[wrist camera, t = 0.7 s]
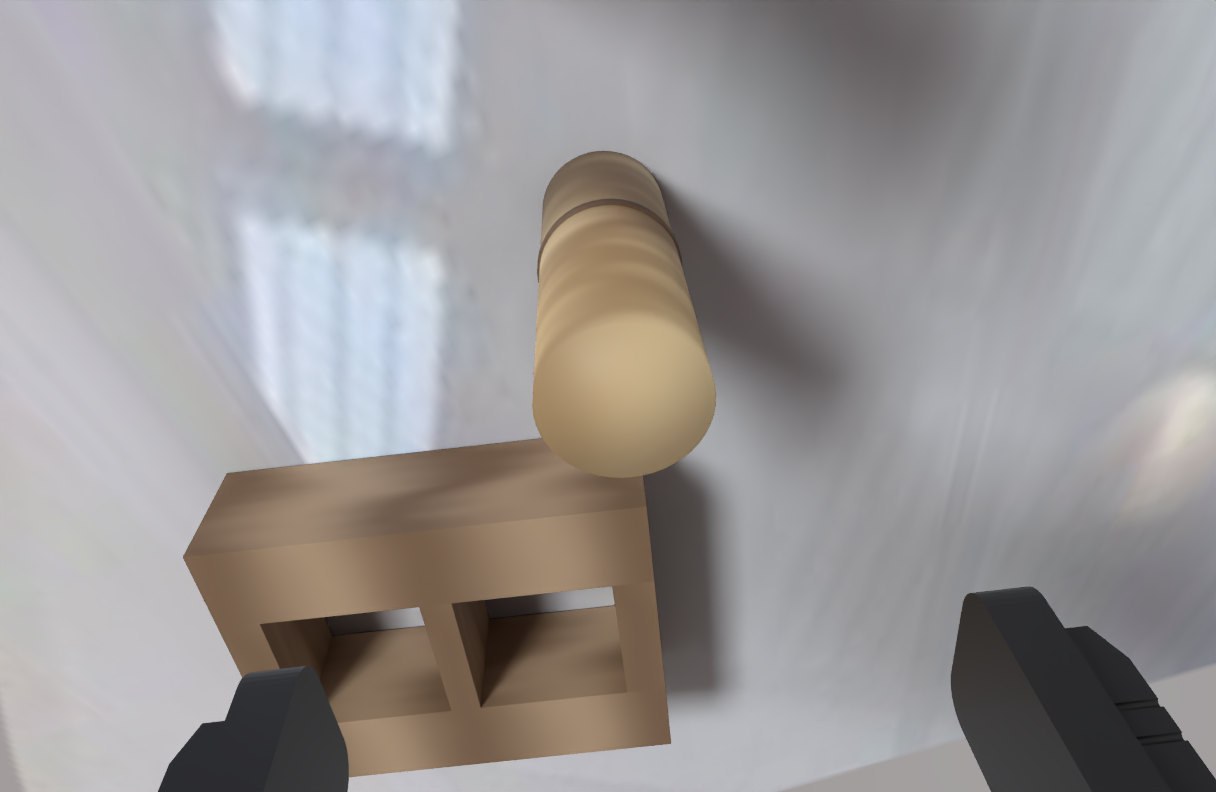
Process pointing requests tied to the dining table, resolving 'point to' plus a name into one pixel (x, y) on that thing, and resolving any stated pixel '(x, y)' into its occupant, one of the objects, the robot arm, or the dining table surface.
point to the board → (444, 601)
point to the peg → (615, 325)
